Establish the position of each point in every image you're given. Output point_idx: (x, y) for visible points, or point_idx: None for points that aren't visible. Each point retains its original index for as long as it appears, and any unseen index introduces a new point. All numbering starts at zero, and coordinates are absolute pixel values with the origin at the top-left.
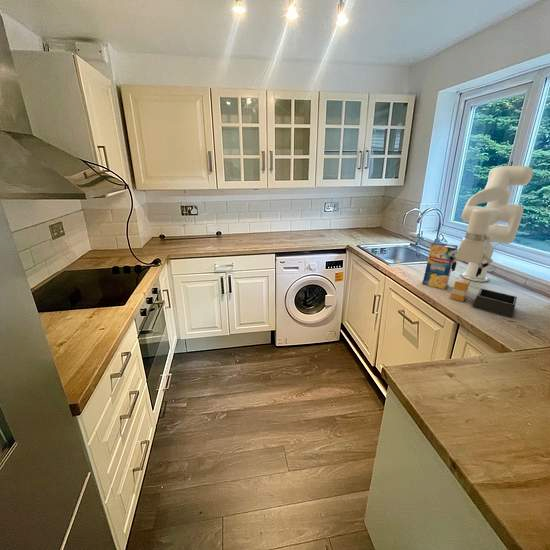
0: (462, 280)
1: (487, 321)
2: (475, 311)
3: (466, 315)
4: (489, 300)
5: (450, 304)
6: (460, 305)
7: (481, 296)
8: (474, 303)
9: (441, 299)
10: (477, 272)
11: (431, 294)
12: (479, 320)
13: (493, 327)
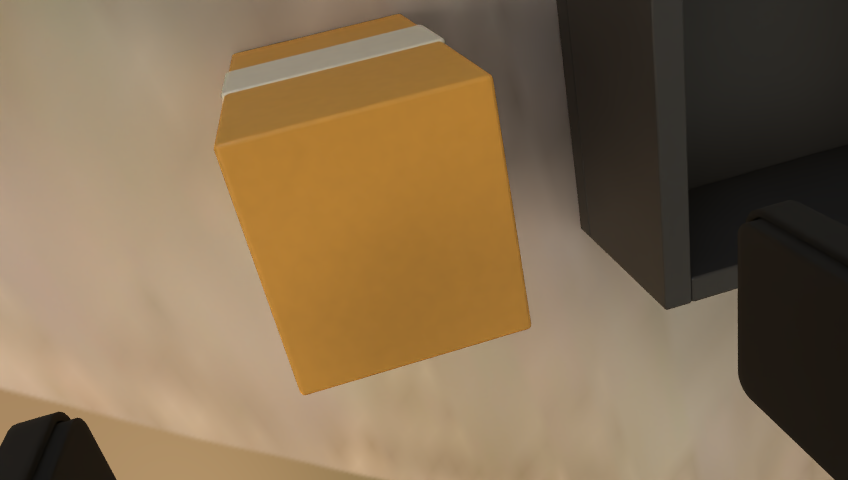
0: (367, 216)
1: (748, 415)
2: (626, 316)
3: (589, 470)
4: None
5: (381, 393)
6: None
7: (721, 285)
8: (603, 248)
9: (236, 363)
10: (844, 472)
11: (47, 338)
12: (694, 456)
13: (795, 466)
